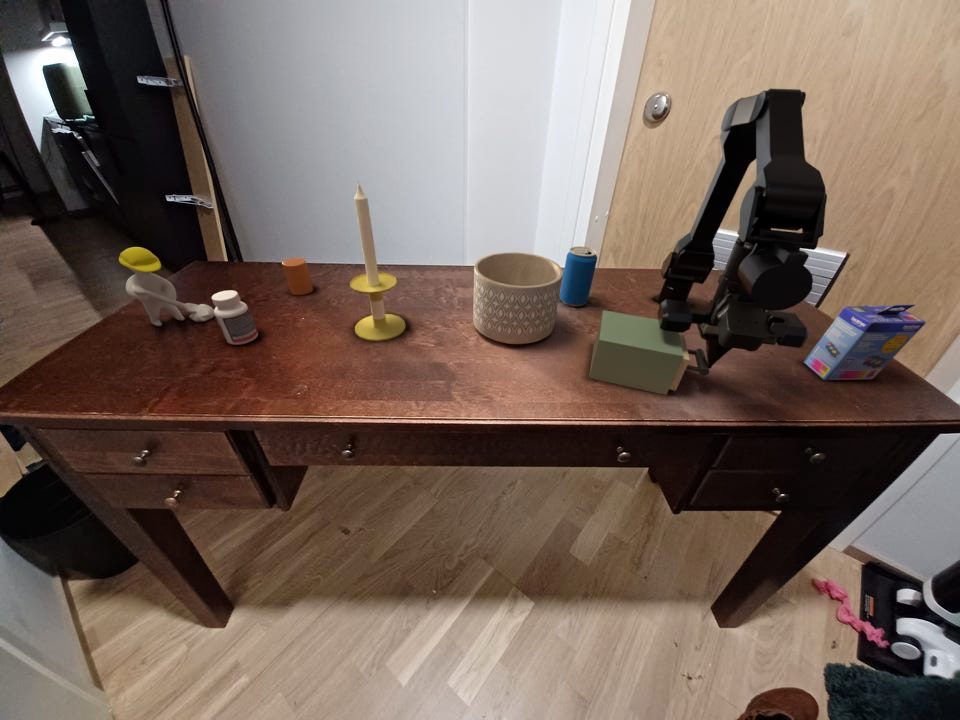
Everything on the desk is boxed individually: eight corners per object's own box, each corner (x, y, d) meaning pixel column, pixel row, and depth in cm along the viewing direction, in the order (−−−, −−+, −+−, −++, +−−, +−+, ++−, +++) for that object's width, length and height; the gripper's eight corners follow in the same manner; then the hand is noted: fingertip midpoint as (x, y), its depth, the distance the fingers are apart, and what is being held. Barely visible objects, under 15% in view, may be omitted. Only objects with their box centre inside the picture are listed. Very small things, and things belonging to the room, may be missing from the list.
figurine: (180, 337, 68) (138, 260, 59) (140, 330, 70) (93, 254, 61) (222, 312, 76) (190, 240, 67) (185, 306, 78) (149, 235, 69)
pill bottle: (265, 333, 70) (249, 291, 65) (242, 348, 66) (223, 304, 61) (243, 328, 72) (226, 286, 66) (220, 342, 68) (199, 298, 62)
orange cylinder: (311, 284, 88) (303, 256, 84) (314, 292, 85) (307, 263, 81) (289, 288, 86) (280, 259, 82) (292, 296, 83) (283, 267, 79)
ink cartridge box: (825, 382, 63) (883, 308, 55) (800, 363, 68) (850, 292, 59) (876, 380, 64) (941, 307, 56) (848, 361, 69) (904, 291, 60)
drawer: (694, 363, 65) (708, 334, 61) (702, 396, 58) (718, 365, 54) (606, 346, 69) (614, 317, 65) (603, 375, 62) (612, 344, 58)
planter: (487, 302, 83) (490, 247, 76) (559, 316, 79) (569, 259, 72) (460, 338, 71) (460, 277, 63) (543, 357, 67) (554, 294, 59)
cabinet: (662, 359, 67) (677, 322, 63) (666, 395, 59) (683, 356, 55) (593, 346, 70) (603, 309, 66) (588, 378, 62) (599, 339, 58)
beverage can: (587, 309, 82) (599, 257, 75) (558, 306, 83) (567, 254, 76) (586, 296, 87) (597, 247, 80) (559, 293, 88) (568, 244, 81)
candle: (413, 333, 72) (399, 184, 56) (362, 346, 68) (331, 189, 52) (396, 311, 79) (379, 173, 63) (349, 321, 75) (318, 176, 59)
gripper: (680, 294, 47) (649, 387, 56) (856, 312, 42) (791, 410, 51) (671, 263, 56) (646, 348, 65) (816, 275, 51) (767, 365, 60)
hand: (707, 367), depth 60 cm, fingers closed
